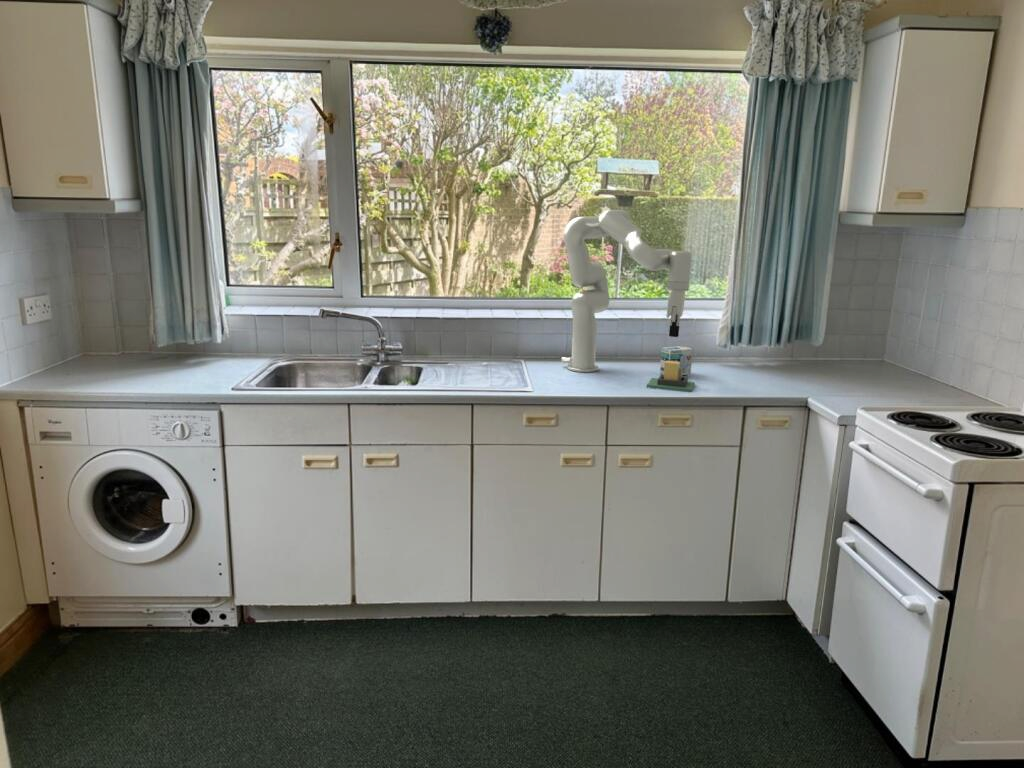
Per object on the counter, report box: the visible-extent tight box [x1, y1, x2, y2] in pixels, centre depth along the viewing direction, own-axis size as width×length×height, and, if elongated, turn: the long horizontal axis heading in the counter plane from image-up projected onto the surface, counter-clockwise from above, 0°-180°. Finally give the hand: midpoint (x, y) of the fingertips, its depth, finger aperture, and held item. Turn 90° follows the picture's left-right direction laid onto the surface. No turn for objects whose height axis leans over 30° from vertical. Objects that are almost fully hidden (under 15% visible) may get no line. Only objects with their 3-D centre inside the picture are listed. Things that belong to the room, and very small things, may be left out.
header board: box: [646, 374, 696, 393], centre depth 269 cm, size 16×12×3 cm
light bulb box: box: [659, 345, 694, 377], centre depth 287 cm, size 11×7×11 cm, turn 112°
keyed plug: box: [664, 361, 682, 381], centre depth 268 cm, size 6×4×8 cm, turn 70°
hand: (673, 336), depth 265 cm, fingers closed
